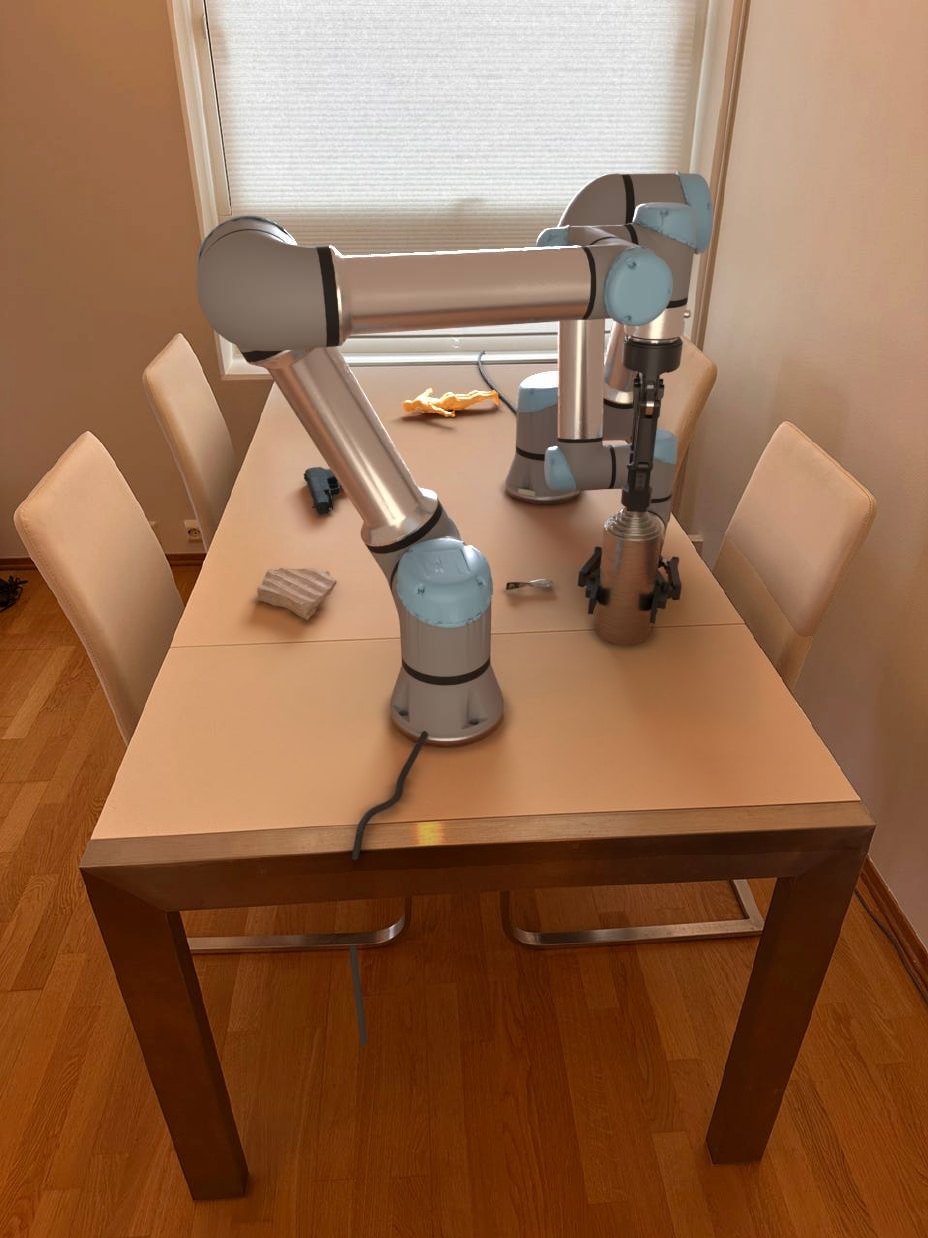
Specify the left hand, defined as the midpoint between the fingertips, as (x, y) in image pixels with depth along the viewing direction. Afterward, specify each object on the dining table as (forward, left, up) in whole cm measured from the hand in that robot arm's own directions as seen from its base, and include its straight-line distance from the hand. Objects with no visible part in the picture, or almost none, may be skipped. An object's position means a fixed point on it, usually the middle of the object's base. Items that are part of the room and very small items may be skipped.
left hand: (635, 503), depth 127 cm
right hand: (-5, 0, -15) cm, 16 cm away
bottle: (0, 0, -22) cm, 22 cm away
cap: (0, 0, +2) cm, 2 cm away
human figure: (+95, +49, -22) cm, 109 cm away
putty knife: (+10, +16, -22) cm, 29 cm away
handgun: (+40, +60, -22) cm, 75 cm away
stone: (-1, +53, -22) cm, 57 cm away
